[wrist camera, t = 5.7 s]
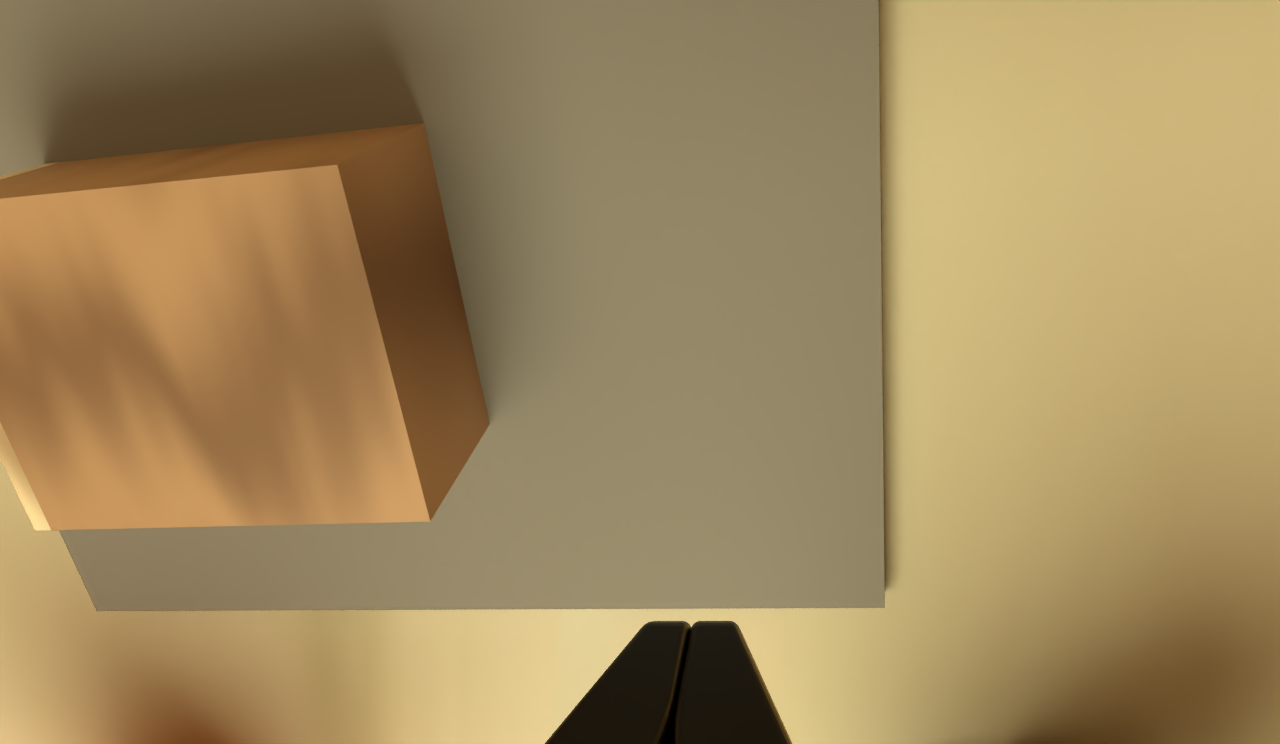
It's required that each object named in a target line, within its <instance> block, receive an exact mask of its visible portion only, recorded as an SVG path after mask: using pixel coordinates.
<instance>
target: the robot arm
mask: <svg viewBox="0 0 1280 744" xmlns="http://www.w3.org/2000/svg"><path fill="white" fill-rule="evenodd" d="M545 744H792V742H791V740H790V738H789V735H788V733H787V731H786V729H785V727H784V725H783V722H782V720H781V718H780V716H779V714H778V711H777V709H776V707H775V705H774V703H773V700H772V698H771V696H770V694H769V692H768V689H767V687H766V685H765V683H764V681H763V678H762V676H761V674H760V672H759V670H758V668H757V665H756V663H755V661H754V659H753V657H752V654H751V652H750V650H749V648H748V646H747V643H746V641H745V639H744V637H743V635H742V632H741V630H740V628H739V627H738V625H737V624H736V623H734V622H732V621H698V622H696V623H695V624H694V625H693V626H692V628H691V626H690V625H689V624H688V623H687V622H684V621H652V622H648V623H647V624H645V625H644V626H643V627H642V628H641V629H640V630H639V632H638V633H637V634H636V635H635V636H634V638H633V639H632V640H631V641H630V642H629V644H628V645H627V646H626V647H625V648H624V650H623V651H622V652H621V653H620V654H619V656H618V657H617V658H616V659H615V660H614V662H613V663H612V664H611V665H610V666H609V667H608V669H607V670H606V671H605V672H604V673H603V675H602V676H601V677H600V678H599V679H598V681H597V682H596V683H595V684H594V685H593V687H592V688H591V689H590V690H589V691H588V693H587V694H586V695H585V696H584V697H583V699H582V700H581V701H580V702H579V703H578V705H577V706H576V707H575V708H574V709H573V711H572V712H571V713H570V714H569V715H568V716H567V718H566V719H565V720H564V721H563V722H562V724H561V725H560V726H559V727H558V728H557V730H556V731H555V732H554V733H553V734H552V736H551V737H550V738H549V739H548V740H547V742H546V743H545Z"/></svg>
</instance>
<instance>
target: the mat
mask: <svg viewBox="0 0 1280 744" xmlns="http://www.w3.org/2000/svg"><path fill="white" fill-rule="evenodd" d="M420 123H425V128H426V133H427V137H428V142H429V146H430V151H431V156H432V160H433V165H434V170H435V174H436V179H437V183H438V188H439V193H440V197H441V202H442V206H443V211H444V216H445V220H446V225H447V230H448V234H449V239H450V243H451V248H452V253H453V257H454V262H455V267H456V271H457V276H458V280H459V285H460V290H461V294H462V299H463V304H464V308H465V313H466V317H467V322H468V327H469V331H470V336H471V341H472V345H473V350H474V354H475V359H476V364H477V368H478V373H479V378H480V382H481V387H482V391H483V396H484V401H485V405H486V410H487V414H488V419H489V424H490V425H489V426H488V428H487V430H486V431H485V433H484V435H483V436H482V438H481V439H480V441H479V443H478V444H477V446H476V448H475V449H474V451H473V453H472V454H471V456H470V457H469V459H468V461H467V462H466V464H465V466H464V467H463V469H462V471H461V472H460V474H459V475H458V477H457V479H456V480H455V482H454V484H453V485H452V487H451V489H450V490H449V492H448V493H447V495H446V497H445V498H444V500H443V502H442V503H441V505H440V506H439V508H438V510H437V511H436V513H435V515H434V516H433V518H432V520H431V521H430V522H388V523H344V524H300V525H257V526H213V527H169V528H125V529H82V530H59V531H60V533H61V535H62V538H63V540H64V542H65V544H66V546H67V548H68V550H69V553H70V555H71V557H72V559H73V561H74V563H75V565H76V567H77V570H78V572H79V574H80V576H81V578H82V580H83V582H84V585H85V587H86V589H87V591H88V593H89V595H90V597H91V600H92V602H93V604H94V606H95V608H96V610H97V611H205V610H446V609H688V608H885V586H884V486H883V387H882V287H881V187H880V87H879V0H0V176H4V175H7V174H11V173H14V172H18V171H21V170H25V169H28V168H32V167H35V166H39V165H42V164H48V163H58V162H67V161H76V160H86V159H95V158H104V157H113V156H123V155H132V154H141V153H151V152H160V151H169V150H178V149H188V148H197V147H206V146H215V145H225V144H234V143H243V142H253V141H262V140H271V139H280V138H290V137H299V136H308V135H318V134H327V133H336V132H345V131H355V130H364V129H373V128H383V127H392V126H401V125H410V124H420Z"/></svg>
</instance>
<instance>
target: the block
mask: <svg viewBox="0 0 1280 744" xmlns="http://www.w3.org/2000/svg"><path fill="white" fill-rule="evenodd" d="M489 425H490V424H489V419H488V414H487V410H486V405H485V401H484V396H483V391H482V387H481V382H480V378H479V373H478V368H477V364H476V359H475V354H474V350H473V345H472V341H471V336H470V331H469V327H468V322H467V317H466V313H465V308H464V304H463V299H462V294H461V290H460V285H459V280H458V276H457V271H456V267H455V262H454V257H453V253H452V248H451V243H450V239H449V234H448V230H447V225H446V220H445V216H444V211H443V206H442V202H441V197H440V193H439V188H438V183H437V179H436V174H435V170H434V165H433V160H432V156H431V151H430V146H429V142H428V137H427V133H426V128H425V123H420V124H410V125H401V126H392V127H383V128H373V129H364V130H355V131H345V132H336V133H327V134H318V135H308V136H299V137H290V138H280V139H271V140H262V141H253V142H243V143H234V144H225V145H215V146H206V147H197V148H188V149H178V150H169V151H160V152H151V153H141V154H132V155H123V156H113V157H104V158H95V159H86V160H76V161H67V162H58V163H48V164H42V165H39V166H35V167H32V168H28V169H25V170H21V171H18V172H14V173H11V174H7V175H4V176H0V459H1V461H2V463H3V465H4V467H5V469H6V471H7V473H8V475H9V477H10V479H11V482H12V484H13V486H14V488H15V490H16V492H17V494H18V496H19V498H20V500H21V502H22V504H23V506H24V508H25V511H26V513H27V515H28V517H29V519H30V521H31V523H32V525H33V527H34V529H35V531H38V530H82V529H125V528H169V527H213V526H257V525H300V524H344V523H388V522H430V521H431V520H432V518H433V516H434V515H435V513H436V511H437V510H438V508H439V506H440V505H441V503H442V502H443V500H444V498H445V497H446V495H447V493H448V492H449V490H450V489H451V487H452V485H453V484H454V482H455V480H456V479H457V477H458V475H459V474H460V472H461V471H462V469H463V467H464V466H465V464H466V462H467V461H468V459H469V457H470V456H471V454H472V453H473V451H474V449H475V448H476V446H477V444H478V443H479V441H480V439H481V438H482V436H483V435H484V433H485V431H486V430H487V428H488V426H489Z"/></svg>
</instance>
